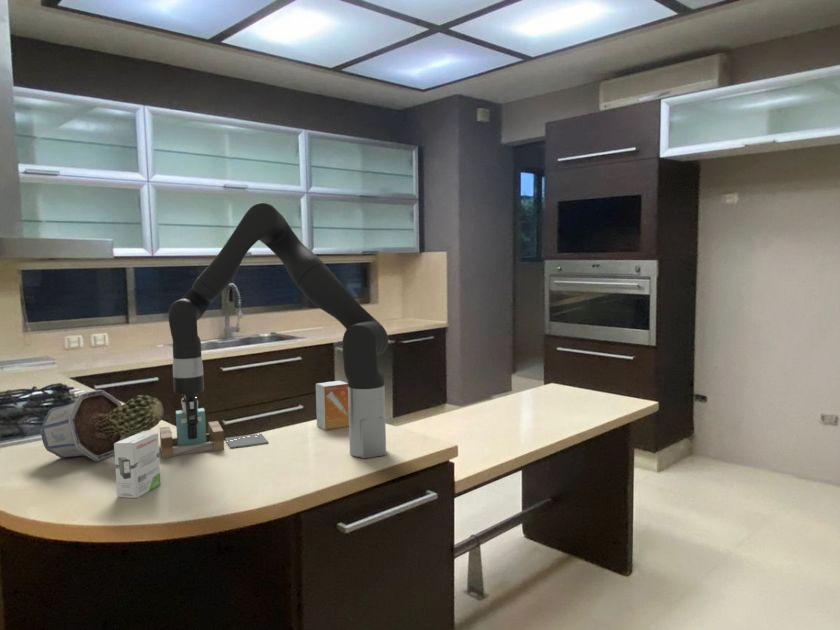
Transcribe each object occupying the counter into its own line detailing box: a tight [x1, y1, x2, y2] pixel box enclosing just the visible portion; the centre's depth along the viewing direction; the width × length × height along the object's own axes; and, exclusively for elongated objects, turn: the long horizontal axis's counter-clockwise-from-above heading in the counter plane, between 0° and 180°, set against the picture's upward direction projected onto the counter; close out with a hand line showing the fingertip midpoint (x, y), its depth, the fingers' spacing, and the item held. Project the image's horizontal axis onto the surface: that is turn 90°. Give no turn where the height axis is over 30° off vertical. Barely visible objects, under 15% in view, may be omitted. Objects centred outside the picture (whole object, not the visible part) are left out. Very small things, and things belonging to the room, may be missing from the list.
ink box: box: [114, 432, 161, 499], centre depth 132 cm, size 9×5×12 cm, turn 169°
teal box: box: [175, 407, 207, 446], centre depth 164 cm, size 4×7×10 cm, turn 115°
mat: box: [224, 433, 269, 449], centre depth 169 cm, size 10×10×1 cm
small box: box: [315, 380, 349, 431], centre depth 183 cm, size 8×6×13 cm
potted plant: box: [39, 389, 165, 462], centre depth 156 cm, size 18×18×30 cm
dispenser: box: [159, 420, 225, 459], centre depth 164 cm, size 12×15×5 cm
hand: (191, 435), depth 164 cm, fingers open, 7 cm apart
